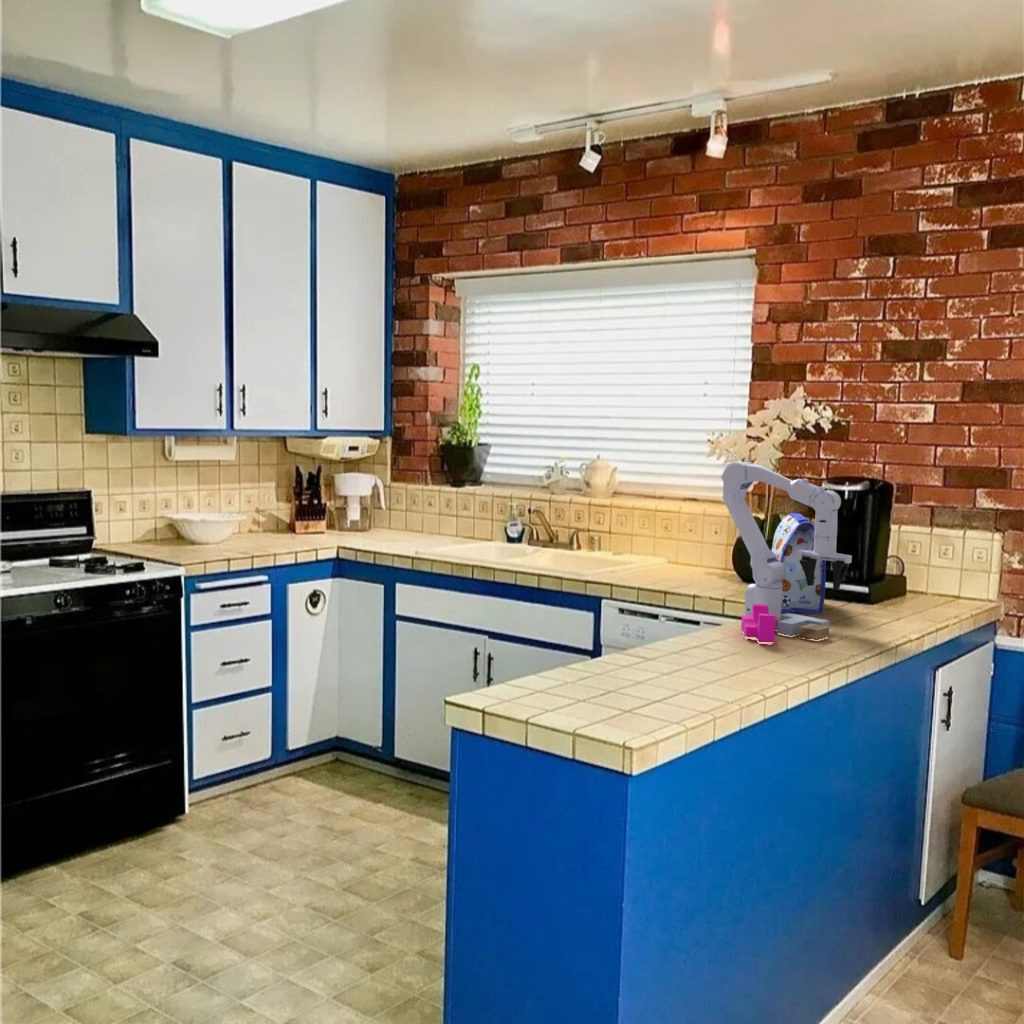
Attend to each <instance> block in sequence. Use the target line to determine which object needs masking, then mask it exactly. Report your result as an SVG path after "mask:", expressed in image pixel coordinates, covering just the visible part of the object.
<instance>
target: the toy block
mask: <svg viewBox="0 0 1024 1024" xmlns="http://www.w3.org/2000/svg"><path fill="white" fill-rule="evenodd" d="M775 620H776V616H775V614H769V606H768V605H767V604H752V615H743V614H741V627H740V629H742V631H743V632H744V634H745V636H747V637H756V638H757V639H758V641H759V642H774V643H775V638H776V632H775Z"/></svg>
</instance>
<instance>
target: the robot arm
mask: <svg viewBox="0 0 1024 1024" xmlns="http://www.w3.org/2000/svg"><path fill="white" fill-rule="evenodd" d="M721 479H722V485H723V486H722V487H723V488H722V499H723V502H724V504H725V507H726V508H727V510H728V512H729V515H730V516H731V519H732V521H733V522H734V524H735V526H736V528H737V531H738V533H739V535H740V537H741V539H742V541H743V543H744V545H745V548H746V549H747V551H748V553H749V555H750V561H749V562H750V563H749V565H750V567H751V570H752V578H753V581H754V582H755V583H750V584H749V585H748V586H747V587H746V590H745V593H744V594H745V595H744V611H743V612H744V613H743V614H742V615H752V604H767V605H768V606H769V614H775V616H776V617H778V618H780V615H782V612H781V605H782V586H783V585H782V580H783V579H784V578H785V576H786V567H785V565H784V564H783V563H782V562H781V561H779V560H778V558H777V557H776V555H775V554H774V553H773V552H772V549H770V548H769V546H768V544H767V542H766V540H765V537H764V535H763V534H762V532H761V530H760V528H759V525H758V524H757V522H756V520H755V518H754V517H755V516H754V515H753V513H752V511H751V509H750V507H749V505H748V503H747V502H746V499H745V498H746V497H745V496H746V495H747V491H748V489H749V488H750V487H751V486H752V485H753V483H754V482H762V483H765V484H767V485H770V486H773V487H775V488H777V489H780V490H783V491H785V492H786V493H788V496H789V498H790V499H792V500H794V501H797V502H799V503H801V504H804V505H806V506H808V507H810V508H812V509H814V511H815V512H814V513H815V516H814V517H815V518H814V525H815V531H814V551H810V550H799V552H798V557H799V558H802V559H801V560H800V564H801V566H802V568H803V570H804V573H805V576H806V581H807V586H811V585H814V572H815V566H816V562H817V559H819V560H826V562H827V561H829V562H832V563H831V567H832V577H833V579H832V581H833V582H832V589H833V590H840V589H841V585H842V581H843V579H844V576H845V574H846V572H847V570H848V568H849V567H850V564H851V563H852V558H853V556H852V555H850V554H844V553H838V552H837V542H838V541H837V539H838V538H837V537H838V510H839V509H840V507H841V504H842V499H841V496H840V495H839V493H837V492H836V491H835V490H833V489H827V490H826V487H825V486H823V485H821V486H818V485H815V484H814V483H811V482H809V479H808V478H805V477H804V478H802V479H801V478H797V479H794V480H792V479H791V478H790V479H789V478H788V477H786V476H784V475H782V474H779V473H778V472H775V471H774V470H772V469H770V468H768V467H765V466H763V465H760V464H757V463H753V462H752V461H748V460H747V461H741V462H737V461H736V462H735V461H733V462H730V463H729V464H727V465H726V466H725V468H724V470H723V472H722V475H721ZM821 557H826V558H821Z"/></svg>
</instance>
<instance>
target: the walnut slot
mask: <svg viewBox="0 0 1024 1024" xmlns="http://www.w3.org/2000/svg"><path fill="white" fill-rule="evenodd" d="M781 620H783V618H778V617H776V620H775V630H777V622H778V621H781ZM829 636H830V626H829V627H827V626H821V625H816V624H808V625H804V626H800V627H799V636H798V637H800V638H805V639H814V640H819V639H823V638H826V637H829Z"/></svg>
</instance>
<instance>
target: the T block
mask: <svg viewBox="0 0 1024 1024" xmlns="http://www.w3.org/2000/svg"><path fill="white" fill-rule="evenodd" d="M780 618H783V620H781V621H778V622H777V631H776V634H777V633H780V634H784V635H789V636H793V635H798V634H799V627H800V626H804V625H808V624H816V625H821V626H827V627H829V628H830V625H831V623H830V622H831V620H828V619H823V618H819V617H814V616H813V617H811V616H807V615H801V614H795V613H791V612H785V613H784V614H783V613H781V615H780Z"/></svg>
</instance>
